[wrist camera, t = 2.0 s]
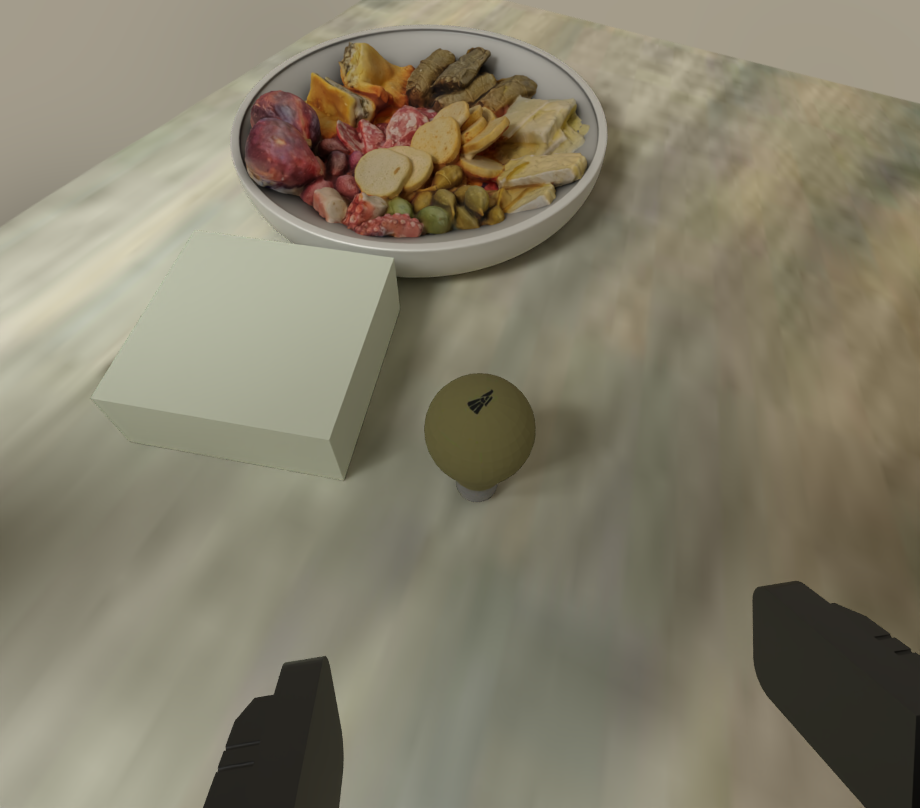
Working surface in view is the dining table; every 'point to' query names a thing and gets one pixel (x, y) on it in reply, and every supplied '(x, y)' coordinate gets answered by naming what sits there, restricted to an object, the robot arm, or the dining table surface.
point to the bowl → (420, 146)
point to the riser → (256, 354)
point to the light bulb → (479, 432)
